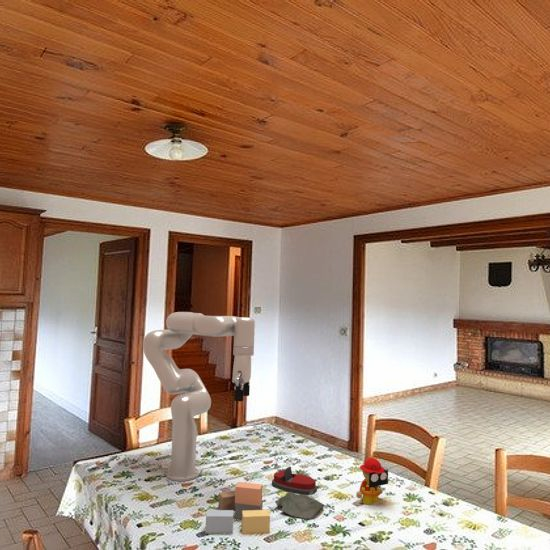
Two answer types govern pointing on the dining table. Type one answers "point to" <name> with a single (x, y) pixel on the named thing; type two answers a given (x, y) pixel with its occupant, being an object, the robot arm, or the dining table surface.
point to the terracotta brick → (248, 493)
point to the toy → (372, 481)
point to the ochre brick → (255, 521)
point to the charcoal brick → (245, 509)
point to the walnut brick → (227, 500)
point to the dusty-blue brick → (219, 521)
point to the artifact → (299, 505)
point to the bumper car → (293, 482)
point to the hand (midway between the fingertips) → (241, 398)
